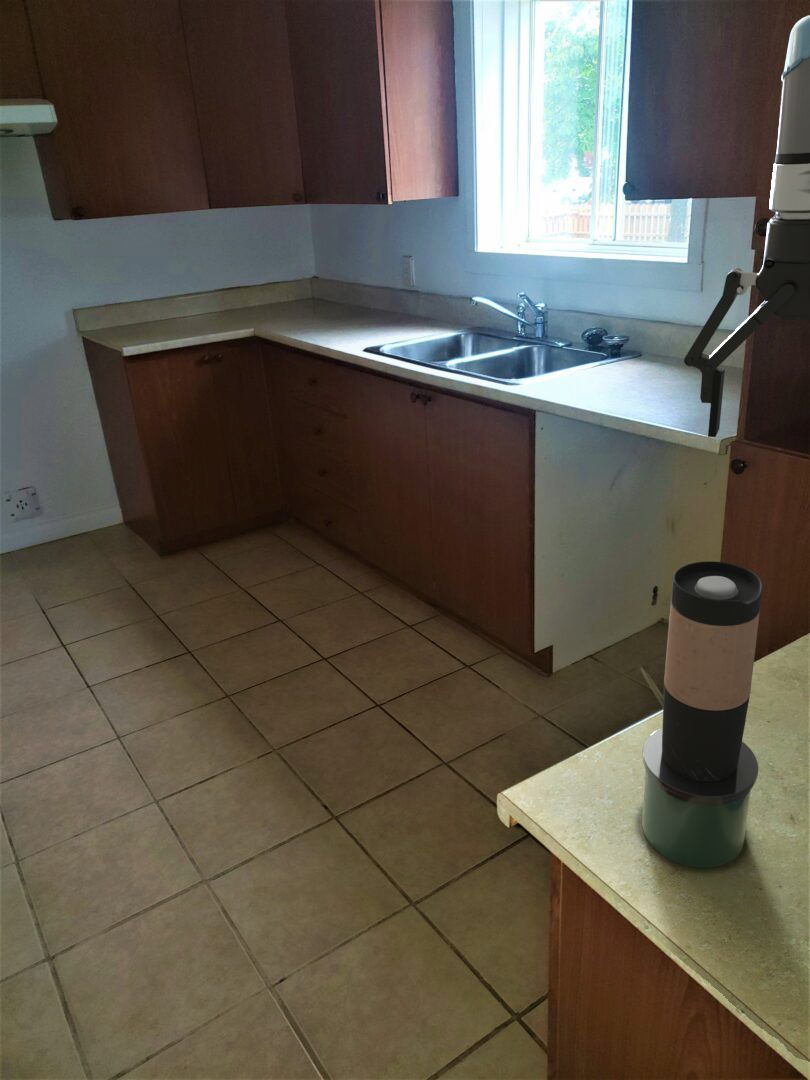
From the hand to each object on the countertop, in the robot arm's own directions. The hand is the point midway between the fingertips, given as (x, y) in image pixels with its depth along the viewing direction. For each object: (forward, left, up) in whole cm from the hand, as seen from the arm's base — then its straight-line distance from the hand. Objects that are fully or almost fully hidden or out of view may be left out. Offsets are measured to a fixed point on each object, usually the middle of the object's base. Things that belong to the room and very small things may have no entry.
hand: (784, 438), depth 83 cm
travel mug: (+8, +18, -27) cm, 33 cm away
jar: (+8, +18, -37) cm, 41 cm away
